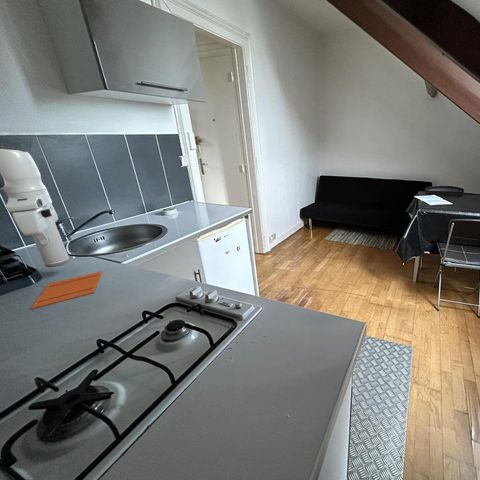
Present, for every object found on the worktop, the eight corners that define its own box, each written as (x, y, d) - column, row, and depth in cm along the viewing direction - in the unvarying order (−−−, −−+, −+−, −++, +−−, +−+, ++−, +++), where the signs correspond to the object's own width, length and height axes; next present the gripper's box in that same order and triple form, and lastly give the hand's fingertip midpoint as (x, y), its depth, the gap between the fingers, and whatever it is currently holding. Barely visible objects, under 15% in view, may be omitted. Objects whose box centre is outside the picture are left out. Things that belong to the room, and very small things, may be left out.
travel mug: (40, 269, 87) (13, 210, 80) (53, 261, 93) (29, 206, 86) (62, 266, 88) (38, 208, 81) (74, 258, 94) (52, 204, 87)
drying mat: (31, 309, 73) (30, 307, 73) (49, 284, 86) (48, 283, 85) (94, 292, 79) (93, 291, 79) (102, 272, 92) (101, 270, 92)
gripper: (30, 196, 89) (47, 233, 95) (2, 207, 73) (24, 252, 78) (54, 193, 92) (69, 230, 98) (33, 204, 76) (53, 247, 81)
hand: (49, 240), depth 88 cm, fingers closed on travel mug, 6 cm apart
